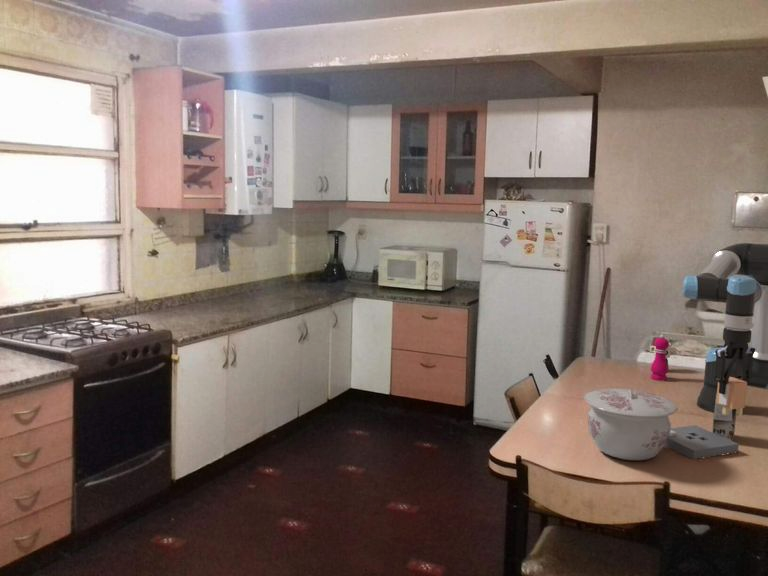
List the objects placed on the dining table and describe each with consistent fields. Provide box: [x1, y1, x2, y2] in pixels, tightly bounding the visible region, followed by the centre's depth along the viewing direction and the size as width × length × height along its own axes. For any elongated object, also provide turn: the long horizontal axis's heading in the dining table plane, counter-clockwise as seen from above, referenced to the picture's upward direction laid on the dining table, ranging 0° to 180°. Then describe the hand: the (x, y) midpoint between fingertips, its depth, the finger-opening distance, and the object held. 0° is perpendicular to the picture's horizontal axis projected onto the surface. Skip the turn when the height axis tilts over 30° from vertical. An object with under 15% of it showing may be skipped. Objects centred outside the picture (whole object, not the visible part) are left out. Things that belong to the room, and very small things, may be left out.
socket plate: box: [664, 424, 740, 460], centre depth 221 cm, size 18×18×4 cm
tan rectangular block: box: [716, 377, 748, 416], centre depth 207 cm, size 5×6×10 cm
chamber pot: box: [583, 388, 678, 462], centre depth 213 cm, size 28×28×21 cm
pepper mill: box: [650, 334, 670, 382], centre depth 299 cm, size 7×7×20 cm
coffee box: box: [711, 392, 737, 442], centre depth 228 cm, size 9×6×16 cm
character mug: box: [649, 342, 676, 366], centre depth 313 cm, size 11×7×13 cm, turn 63°
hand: (730, 402), depth 207 cm, fingers closed on tan rectangular block, 5 cm apart
